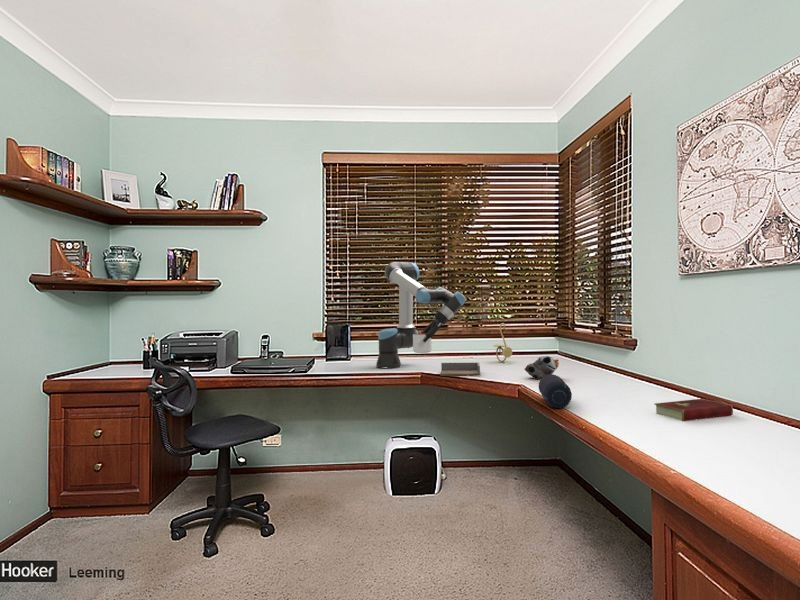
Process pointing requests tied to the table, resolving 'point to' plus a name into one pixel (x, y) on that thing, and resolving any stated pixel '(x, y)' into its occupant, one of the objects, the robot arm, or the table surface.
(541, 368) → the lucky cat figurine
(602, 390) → the table surface
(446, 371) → the pen base
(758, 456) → the table surface
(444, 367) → the pen walls
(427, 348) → the cup
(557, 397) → the portable speaker
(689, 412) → the hardcover book
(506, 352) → the wall sconce
